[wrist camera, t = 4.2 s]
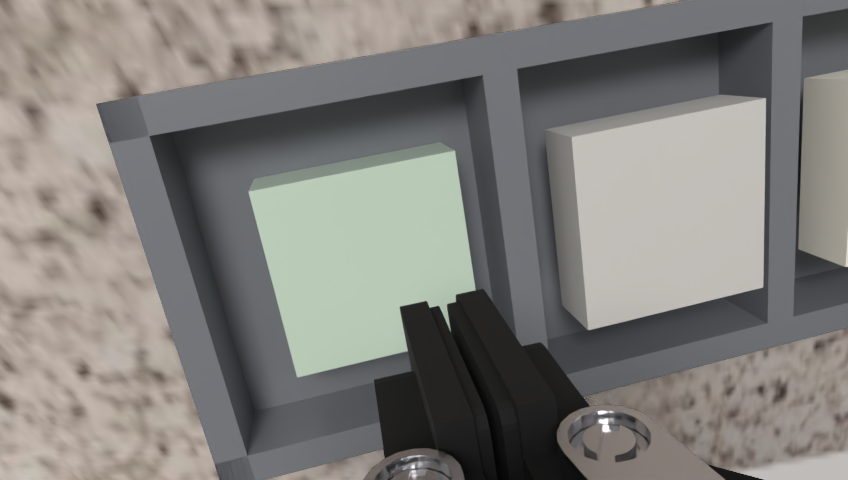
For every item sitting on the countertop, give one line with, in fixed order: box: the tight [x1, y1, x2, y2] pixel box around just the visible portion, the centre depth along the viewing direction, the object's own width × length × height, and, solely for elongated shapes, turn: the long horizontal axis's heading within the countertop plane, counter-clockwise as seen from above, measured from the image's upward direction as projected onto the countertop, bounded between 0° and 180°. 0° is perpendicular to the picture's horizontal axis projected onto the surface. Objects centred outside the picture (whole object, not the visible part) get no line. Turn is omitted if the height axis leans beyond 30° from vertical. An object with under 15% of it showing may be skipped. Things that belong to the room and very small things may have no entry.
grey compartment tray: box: [96, 0, 848, 480], centre depth 21 cm, size 30×12×4 cm, turn 99°
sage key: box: [248, 142, 476, 378], centre depth 19 cm, size 6×6×2 cm
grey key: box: [545, 95, 766, 330], centre depth 19 cm, size 6×6×2 cm
